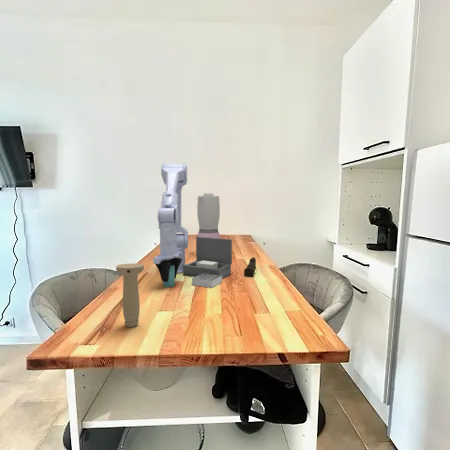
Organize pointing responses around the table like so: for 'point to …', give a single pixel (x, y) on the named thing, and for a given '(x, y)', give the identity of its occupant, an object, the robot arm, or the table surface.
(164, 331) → the table surface
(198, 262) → the case
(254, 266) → the hand tool
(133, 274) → the handle
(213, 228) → the blender
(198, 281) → the white square frame
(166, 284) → the teal cylinder
